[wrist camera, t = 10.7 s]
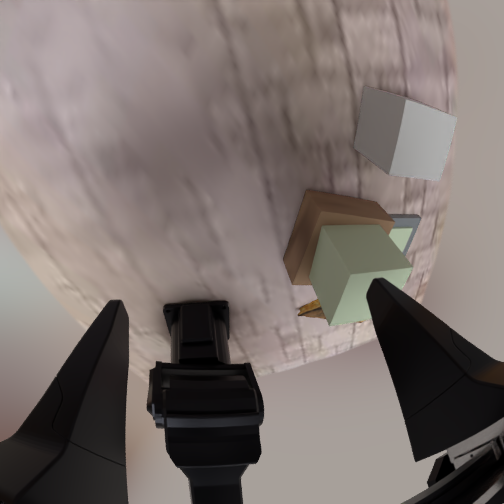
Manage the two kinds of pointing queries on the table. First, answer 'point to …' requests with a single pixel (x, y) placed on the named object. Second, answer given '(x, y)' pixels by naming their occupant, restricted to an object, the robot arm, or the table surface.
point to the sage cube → (354, 269)
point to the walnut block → (320, 214)
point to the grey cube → (403, 135)
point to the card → (404, 230)
